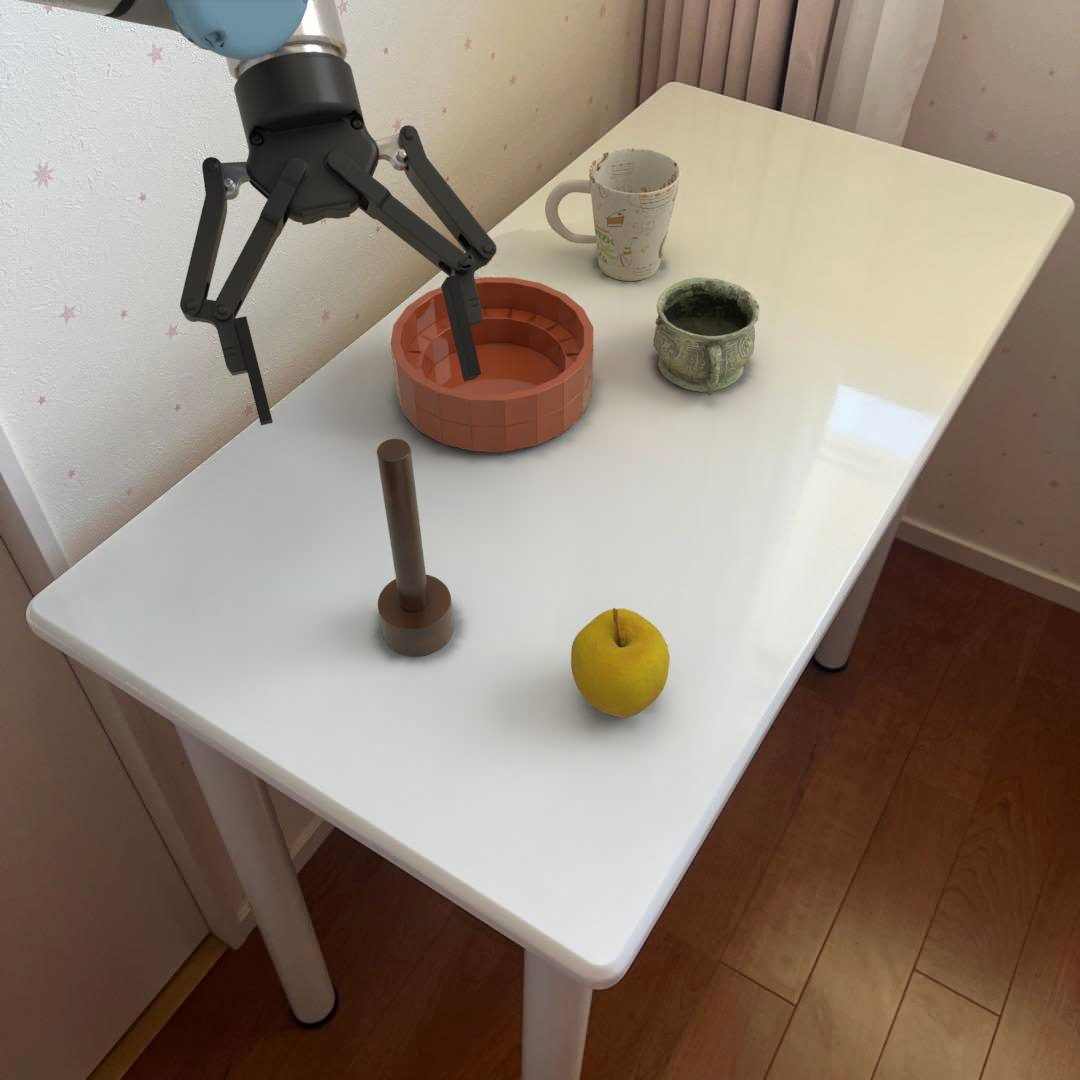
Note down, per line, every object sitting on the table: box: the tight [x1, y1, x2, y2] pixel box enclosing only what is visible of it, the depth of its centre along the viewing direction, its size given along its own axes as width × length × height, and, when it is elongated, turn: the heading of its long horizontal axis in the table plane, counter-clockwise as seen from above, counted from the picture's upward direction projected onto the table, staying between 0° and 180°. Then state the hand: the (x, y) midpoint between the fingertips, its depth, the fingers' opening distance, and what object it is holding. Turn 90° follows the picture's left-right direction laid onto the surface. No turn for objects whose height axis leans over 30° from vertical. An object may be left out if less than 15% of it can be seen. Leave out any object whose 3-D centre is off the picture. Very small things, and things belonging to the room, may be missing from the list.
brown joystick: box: [376, 438, 455, 657], centre depth 71 cm, size 5×5×17 cm
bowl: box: [389, 276, 595, 453], centre depth 93 cm, size 17×17×6 cm
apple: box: [570, 607, 671, 718], centre depth 71 cm, size 6×6×8 cm
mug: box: [544, 147, 681, 282], centre depth 105 cm, size 8×13×10 cm, turn 81°
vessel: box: [653, 277, 760, 396], centre depth 95 cm, size 12×9×6 cm
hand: (371, 400), depth 71 cm, fingers open, 13 cm apart
